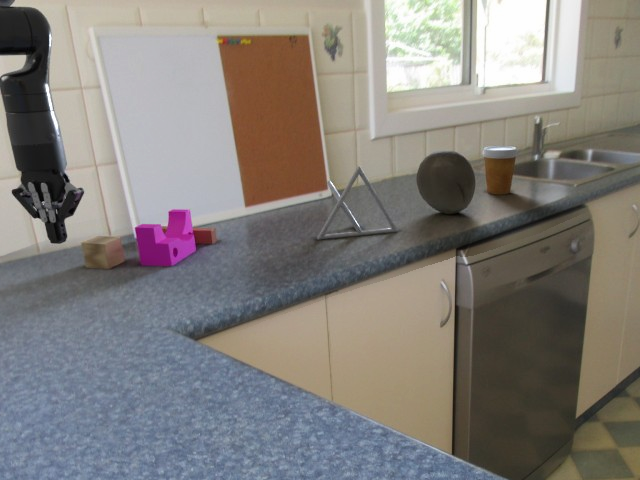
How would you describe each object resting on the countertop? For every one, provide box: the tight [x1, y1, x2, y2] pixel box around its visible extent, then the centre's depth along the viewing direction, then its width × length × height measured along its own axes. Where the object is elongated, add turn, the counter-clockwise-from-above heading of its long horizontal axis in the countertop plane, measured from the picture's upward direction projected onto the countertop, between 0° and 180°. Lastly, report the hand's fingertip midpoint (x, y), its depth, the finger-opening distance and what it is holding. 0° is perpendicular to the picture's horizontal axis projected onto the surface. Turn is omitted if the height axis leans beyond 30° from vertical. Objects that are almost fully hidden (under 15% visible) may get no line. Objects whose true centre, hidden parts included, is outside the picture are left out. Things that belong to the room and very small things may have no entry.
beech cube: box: [80, 235, 126, 270], centre depth 126 cm, size 5×5×5 cm
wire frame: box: [316, 165, 399, 240], centre depth 145 cm, size 18×13×16 cm
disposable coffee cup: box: [482, 145, 519, 195], centre depth 181 cm, size 10×10×12 cm
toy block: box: [134, 208, 197, 267], centre depth 131 cm, size 15×6×8 cm, turn 171°
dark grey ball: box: [415, 150, 476, 215], centre depth 158 cm, size 14×14×15 cm
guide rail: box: [161, 225, 218, 245], centre depth 141 cm, size 16×2×3 cm, turn 76°
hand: (58, 242), depth 114 cm, fingers closed
